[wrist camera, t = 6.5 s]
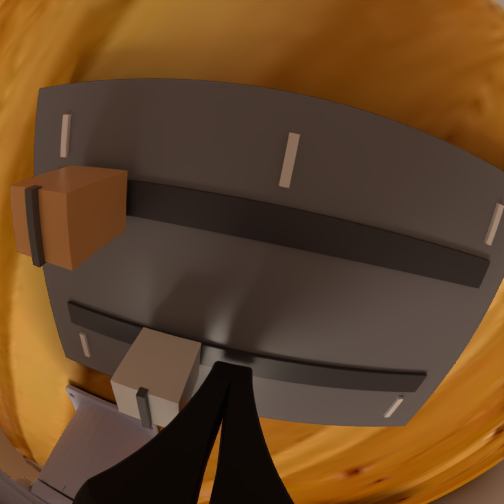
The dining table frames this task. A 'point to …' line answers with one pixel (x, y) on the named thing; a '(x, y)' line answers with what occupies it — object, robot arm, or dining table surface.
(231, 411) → the robot arm
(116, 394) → the fader ivory
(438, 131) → the dining table surface
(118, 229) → the fader orange
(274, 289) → the fader panel
